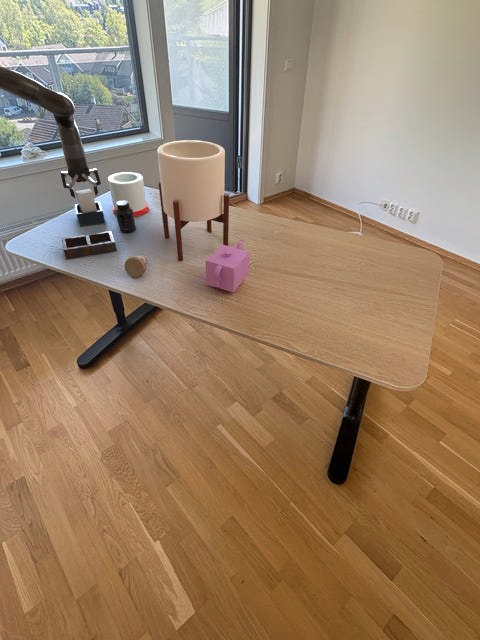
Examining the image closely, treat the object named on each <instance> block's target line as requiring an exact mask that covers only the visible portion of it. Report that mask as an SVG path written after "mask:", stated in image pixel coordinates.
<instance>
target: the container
mask: <svg viewBox="0 0 480 640" xmlns="http://www.w3.org/2000/svg"><path fill="white" fill-rule="evenodd" d="M107 182H108V186H109V191H110V196H111V200H112V201H111V202H112V205H111V207H112V213H113V214H114V215H115V216H116V210H117V202H119V201H128V202H129V205H130V208H131V209H132V210H133V214H134V218H135V217H137V218H138V217H141V216H143V215H145V214H146V213H148V212H149V204H148V202H147V197H146V190H145V183H144V177H143V175H142V174H140V173H138V172H133V171H121V172H116V173H112V174H110V175H109V176H108V177H107Z"/></svg>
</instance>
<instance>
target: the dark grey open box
mask: <svg viewBox="0 0 480 640" xmlns="http://www.w3.org/2000/svg"><path fill="white" fill-rule="evenodd" d="M95 205H96V208H97V211H93V212H85V213H81V209H80V206H79V203H77V204H75V203H74V209H75V215H76V218H77V221H78V225H79V227H88V226H96V225H102V224H106V220H105V215H104V211H103V208H102V205H101V202H100V201H95Z"/></svg>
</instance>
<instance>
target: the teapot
mask: <svg viewBox="0 0 480 640" xmlns="http://www.w3.org/2000/svg"><path fill="white" fill-rule="evenodd" d="M243 245H244V240H243V239H241V240H239V241H238V242H237V245H236V247H233V246H230V245H228V246H226V245H223V244H221V245H220V246H219V247H218V248H217V249H216V250H215V251H214V252H213V253H212V254H211V255H210V256H208V258H207V259H205V284H206V285H208V286H211V287H212V288H217V289H220V290H225V291H228V293H235V292H236V290H237V289H238V288H239V287H240V285H241V284H242V283H243V282H244V281H245V279H246V278H247V276H248V275H249V264H250V251H249V250H244V249H242V248H243Z"/></svg>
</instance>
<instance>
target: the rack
mask: <svg viewBox="0 0 480 640" xmlns="http://www.w3.org/2000/svg"><path fill="white" fill-rule="evenodd" d="M61 243H62V251H63V254H64V257H65V260H66V261H67V260H74V259H79V258H85V257H92V256H97V255H103V254H110V253H114V252H117V251H118V250H117V244H116V241H115V238H114V236H113V232H112V230H107V231H102V232H101V231H100V232H95V233H86V234H79V235H73V236H67V237H61Z"/></svg>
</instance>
